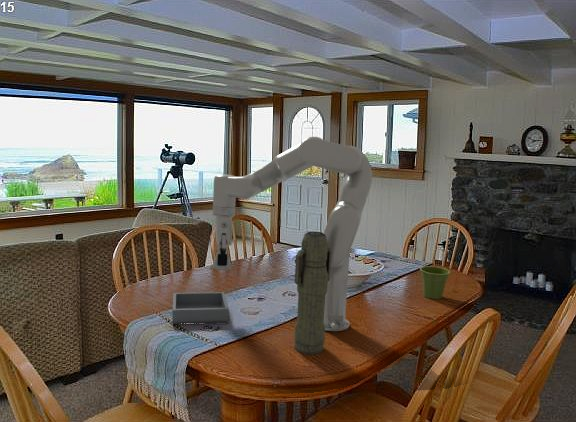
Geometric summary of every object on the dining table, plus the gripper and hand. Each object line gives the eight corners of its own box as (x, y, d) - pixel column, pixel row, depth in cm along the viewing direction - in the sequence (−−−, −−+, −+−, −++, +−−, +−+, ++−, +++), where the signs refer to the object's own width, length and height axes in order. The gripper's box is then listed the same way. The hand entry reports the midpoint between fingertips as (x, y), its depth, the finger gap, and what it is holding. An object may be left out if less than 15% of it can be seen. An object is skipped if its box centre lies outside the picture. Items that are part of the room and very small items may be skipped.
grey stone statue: (283, 347, 155) (289, 232, 150) (312, 338, 163) (318, 228, 158) (304, 358, 148) (310, 237, 143) (333, 348, 156) (340, 233, 151)
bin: (228, 323, 172) (228, 308, 172) (172, 325, 169) (172, 310, 168) (223, 305, 190) (224, 292, 189) (173, 306, 186) (173, 292, 185)
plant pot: (412, 296, 212) (414, 269, 210) (426, 290, 220) (428, 264, 219) (439, 303, 204) (441, 275, 202) (452, 297, 212) (455, 270, 211)
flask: (228, 272, 175) (229, 243, 174) (207, 269, 177) (208, 240, 175) (234, 266, 182) (236, 239, 181) (215, 264, 184) (216, 236, 182)
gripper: (237, 215, 169) (234, 270, 172) (233, 207, 186) (230, 257, 188) (213, 214, 168) (211, 269, 170) (211, 206, 184) (209, 257, 187)
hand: (221, 262), depth 179 cm, fingers closed on flask, 4 cm apart
